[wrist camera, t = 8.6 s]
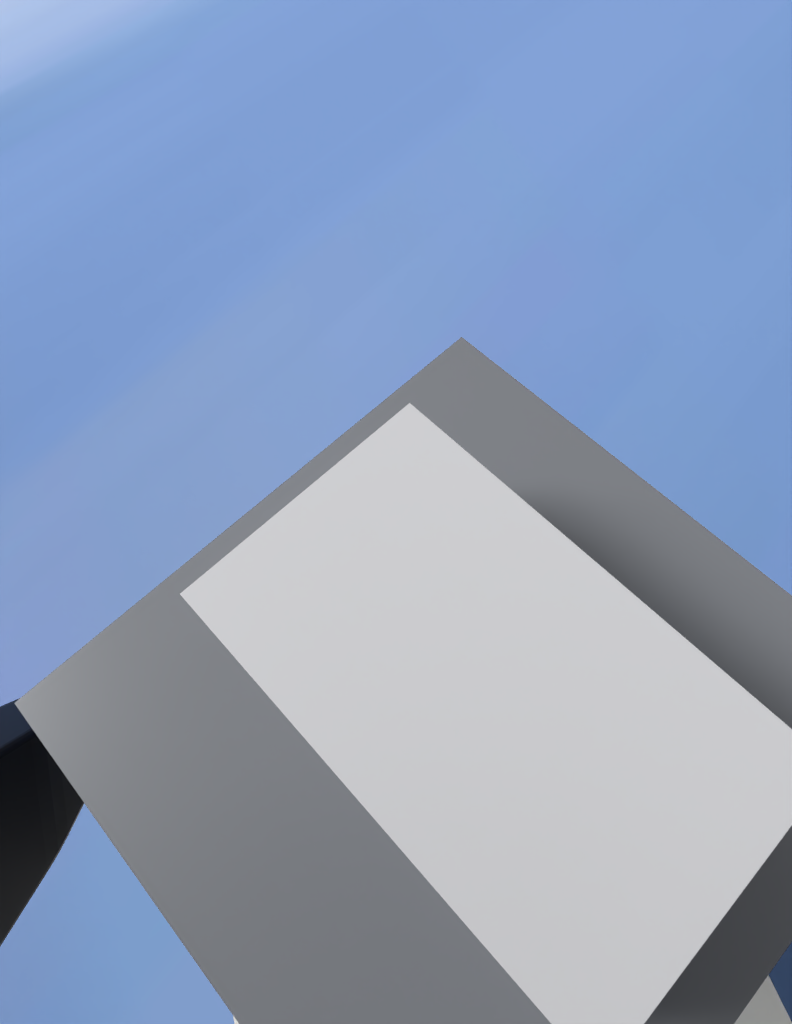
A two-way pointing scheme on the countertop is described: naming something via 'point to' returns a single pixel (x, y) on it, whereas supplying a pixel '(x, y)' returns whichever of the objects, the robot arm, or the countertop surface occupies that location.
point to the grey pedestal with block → (452, 733)
